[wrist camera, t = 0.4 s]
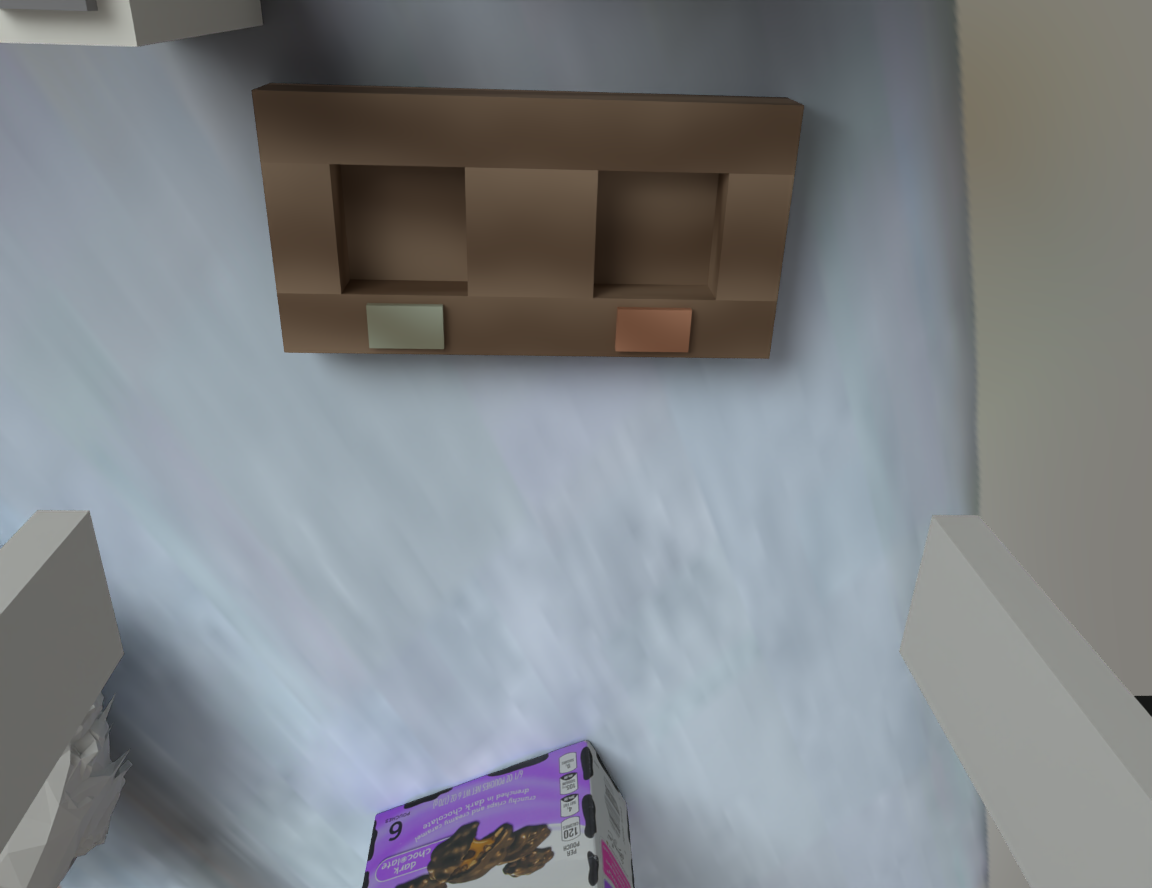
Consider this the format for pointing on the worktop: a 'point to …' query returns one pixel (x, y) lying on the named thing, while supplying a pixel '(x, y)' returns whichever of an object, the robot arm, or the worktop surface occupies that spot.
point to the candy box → (510, 830)
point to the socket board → (526, 220)
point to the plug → (121, 20)
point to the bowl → (67, 808)
